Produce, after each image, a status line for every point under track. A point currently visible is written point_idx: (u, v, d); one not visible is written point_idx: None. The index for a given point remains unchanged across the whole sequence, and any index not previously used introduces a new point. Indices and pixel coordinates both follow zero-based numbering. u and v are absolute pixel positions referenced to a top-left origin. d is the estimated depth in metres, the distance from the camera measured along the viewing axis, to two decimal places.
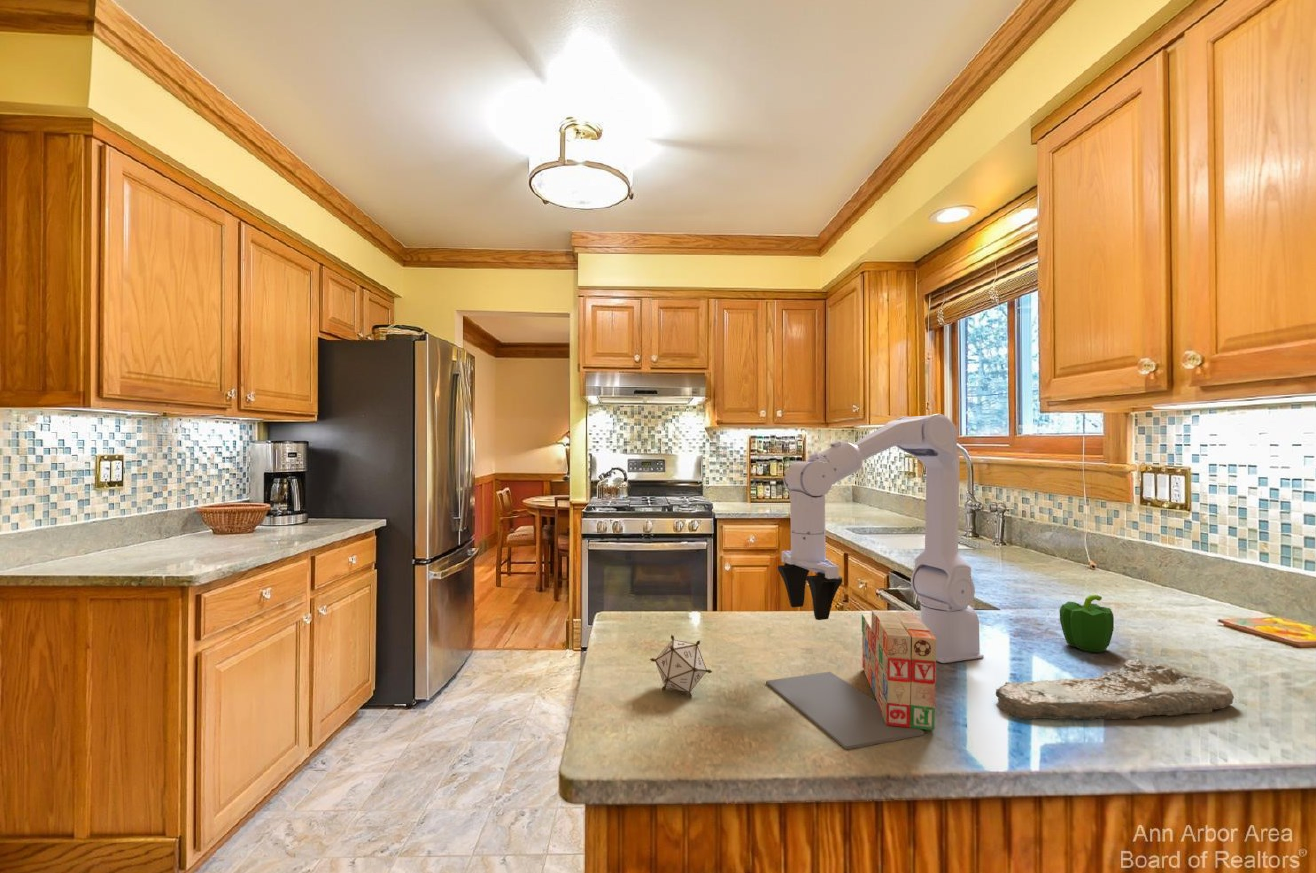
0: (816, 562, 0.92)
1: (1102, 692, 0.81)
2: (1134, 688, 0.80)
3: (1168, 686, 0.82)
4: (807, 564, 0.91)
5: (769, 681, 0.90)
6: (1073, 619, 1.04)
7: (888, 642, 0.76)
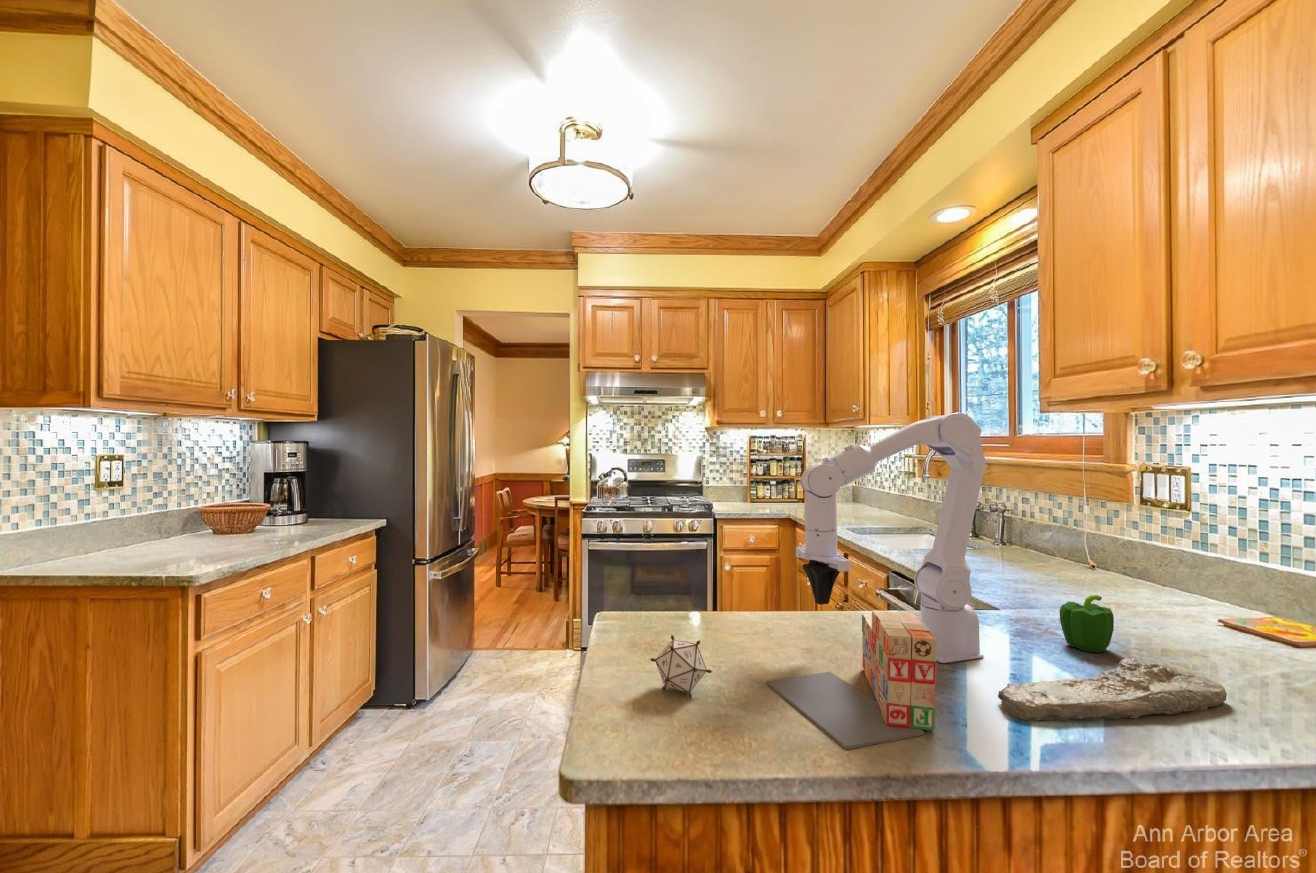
0: (829, 557, 1.00)
1: (1102, 692, 0.81)
2: (1133, 687, 0.81)
3: (1164, 685, 0.82)
4: (821, 559, 1.00)
5: (769, 681, 0.90)
6: (1073, 620, 1.04)
7: (888, 642, 0.76)
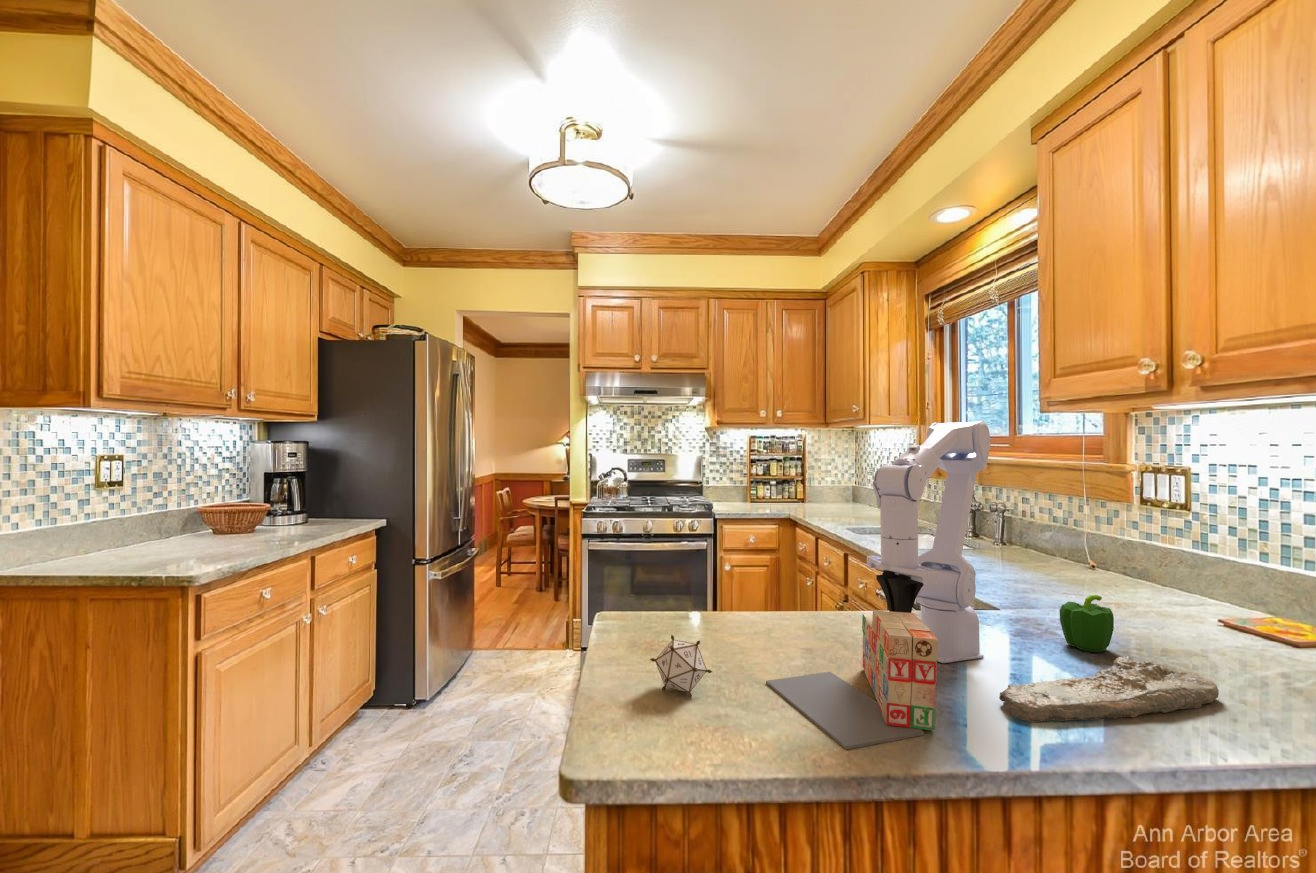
0: (910, 568, 0.90)
1: (1101, 691, 0.81)
2: (1131, 686, 0.81)
3: (1160, 683, 0.83)
4: (902, 570, 0.89)
5: (769, 681, 0.90)
6: (1073, 619, 1.04)
7: (889, 642, 0.75)
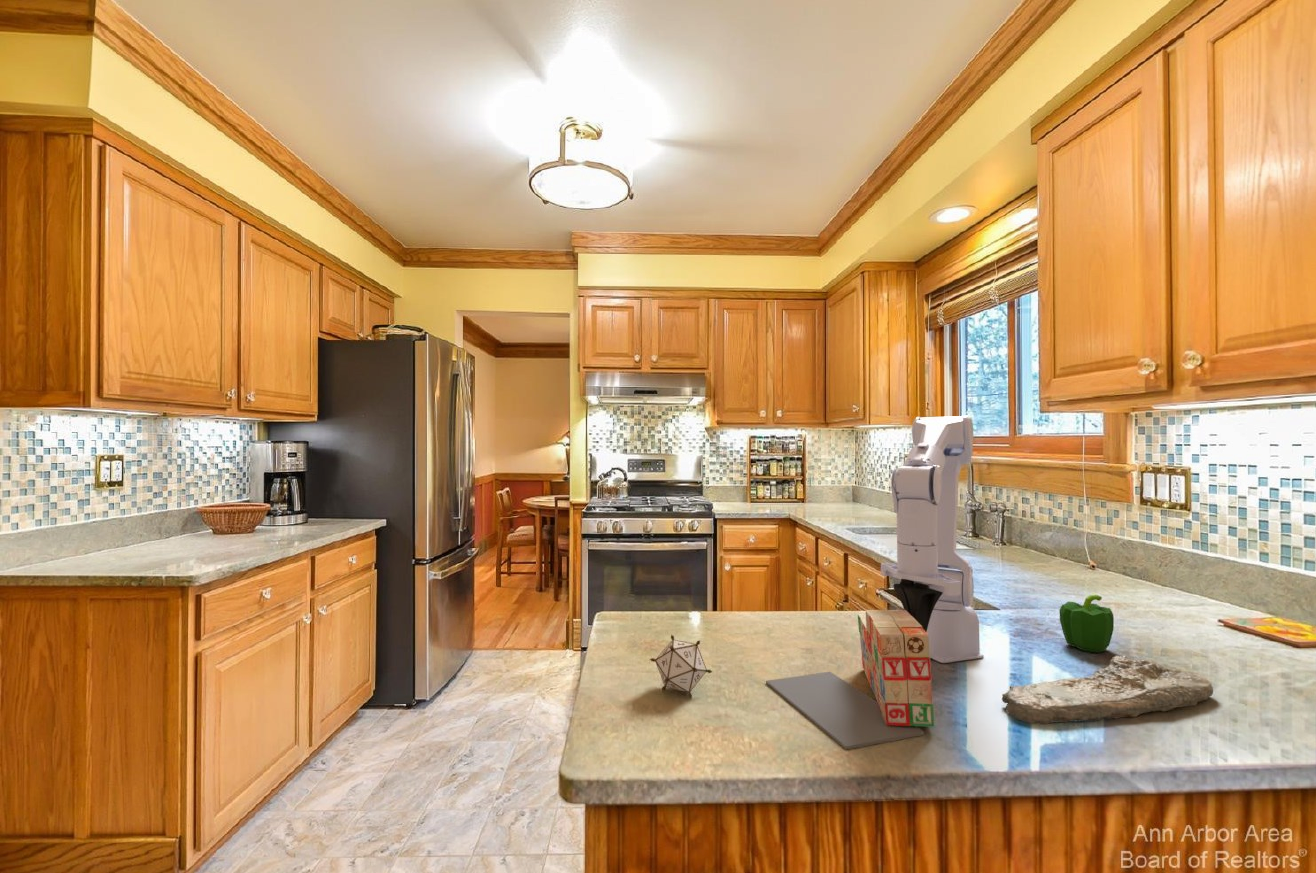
0: (930, 577, 0.84)
1: (1102, 691, 0.81)
2: (1130, 685, 0.81)
3: (1157, 682, 0.83)
4: (921, 579, 0.83)
5: (769, 681, 0.90)
6: (1073, 619, 1.04)
7: (881, 642, 0.76)
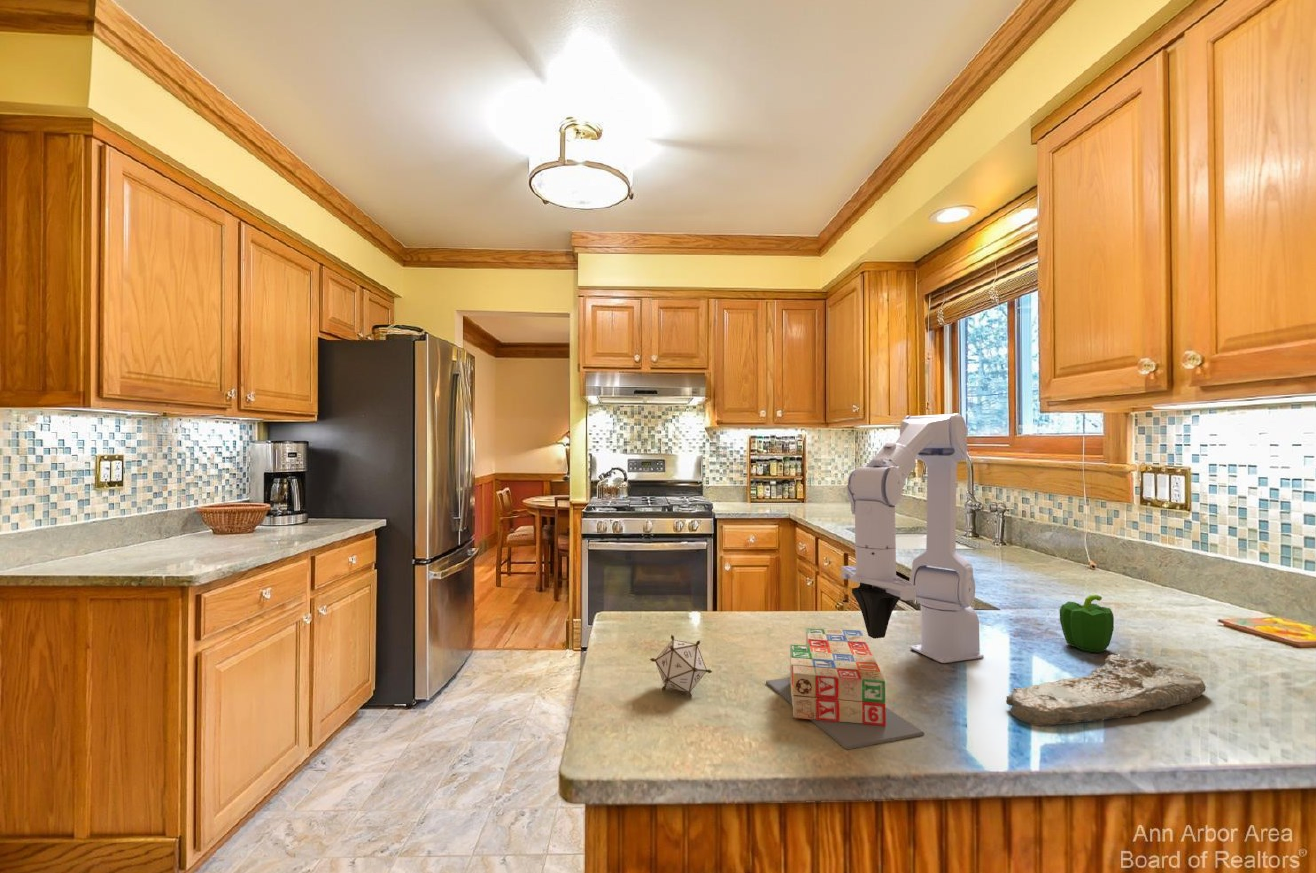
0: (887, 580, 0.81)
1: (1102, 691, 0.81)
2: (1129, 684, 0.82)
3: (1153, 680, 0.84)
4: (877, 583, 0.81)
5: (769, 681, 0.90)
6: (1073, 619, 1.04)
7: (801, 717, 0.77)
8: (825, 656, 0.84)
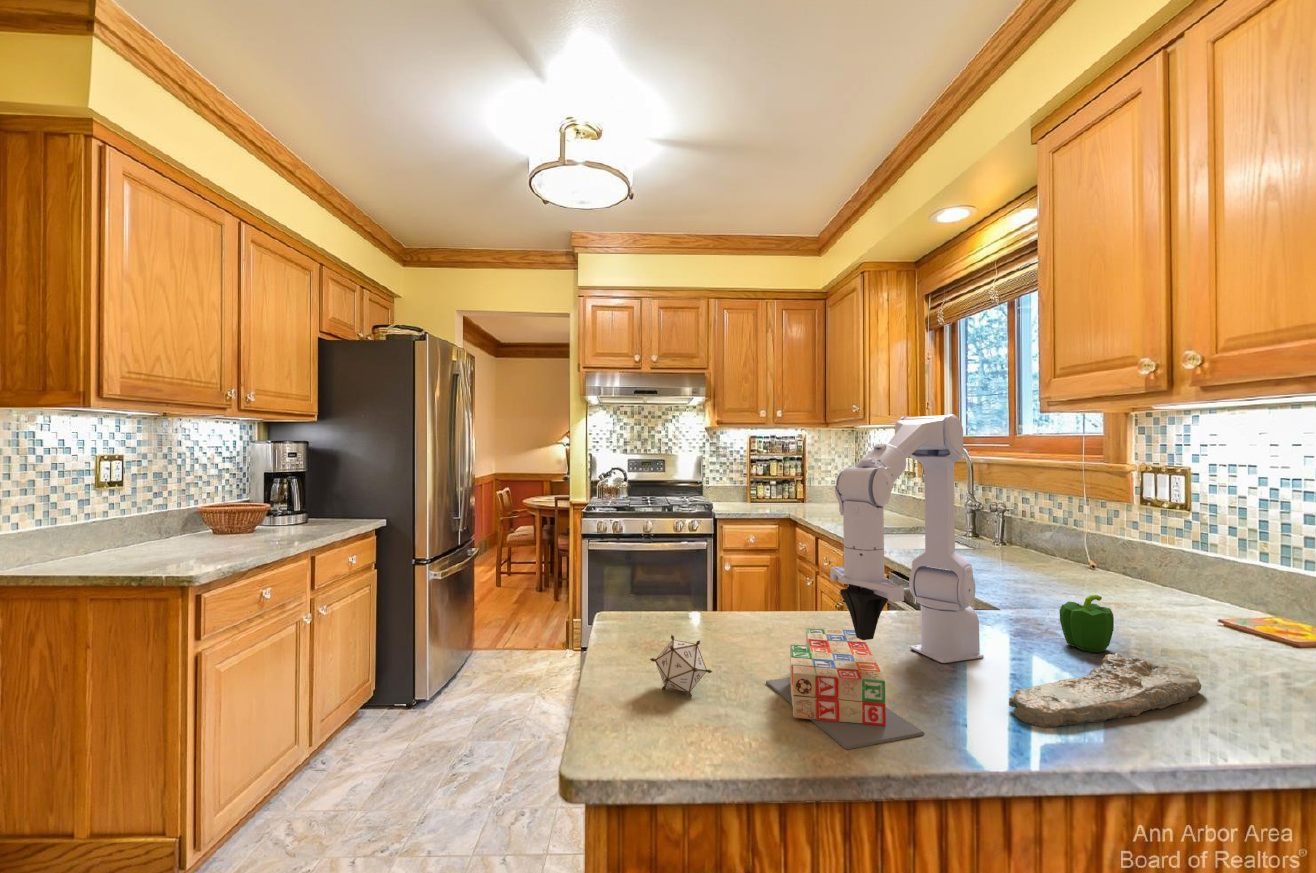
0: (875, 582, 0.81)
1: (1103, 691, 0.81)
2: (1128, 684, 0.82)
3: (1150, 679, 0.84)
4: (865, 584, 0.80)
5: (769, 681, 0.90)
6: (1073, 620, 1.04)
7: (801, 717, 0.77)
8: (825, 656, 0.84)
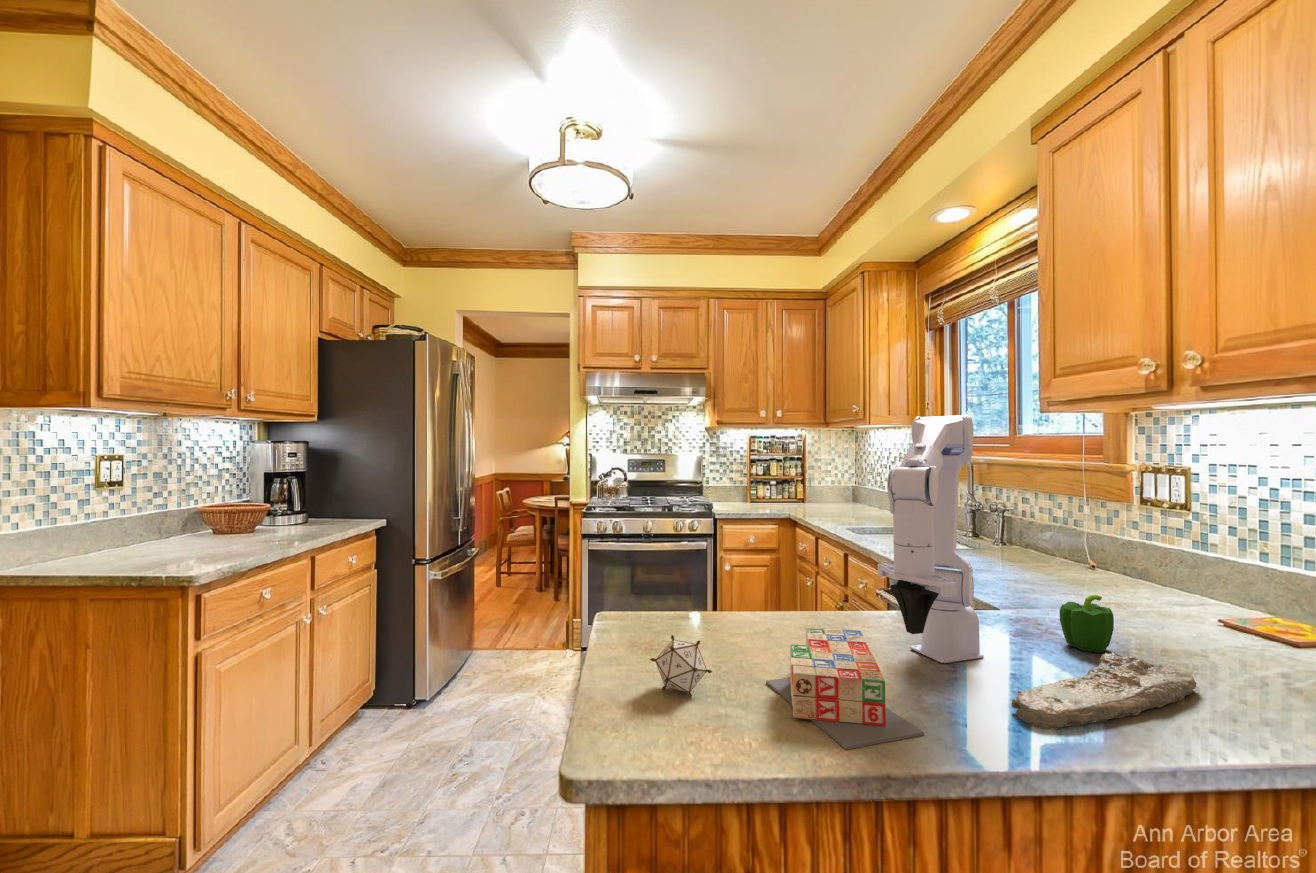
0: (926, 578, 0.84)
1: (1103, 691, 0.81)
2: (1127, 683, 0.82)
3: (1148, 678, 0.85)
4: (917, 580, 0.83)
5: (769, 681, 0.90)
6: (1073, 619, 1.04)
7: (801, 717, 0.77)
8: (825, 656, 0.84)
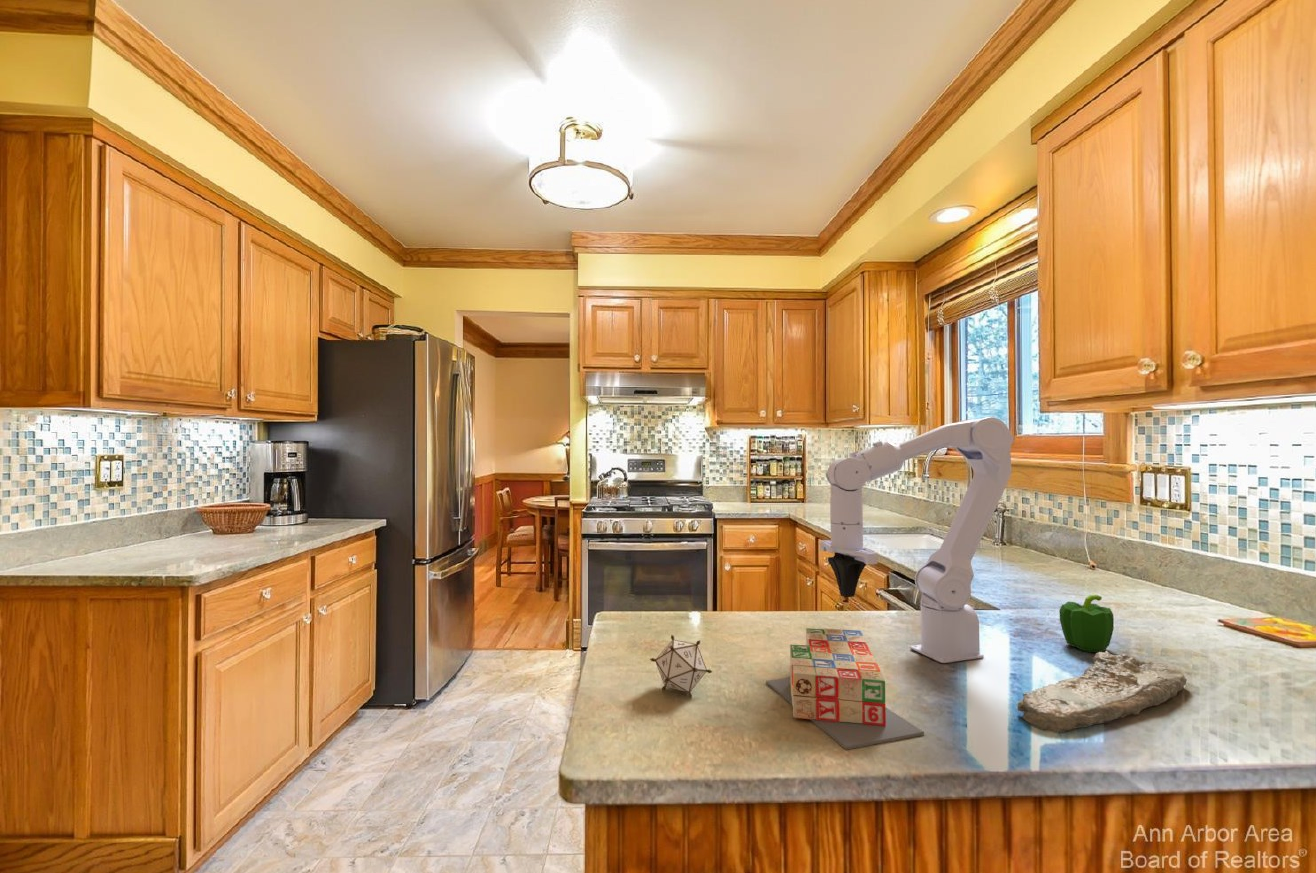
0: (855, 550, 1.01)
1: (1104, 691, 0.81)
2: (1125, 682, 0.82)
3: (1142, 676, 0.85)
4: (847, 551, 1.00)
5: (769, 681, 0.90)
6: (1073, 620, 1.04)
7: (801, 717, 0.77)
8: (825, 656, 0.84)
